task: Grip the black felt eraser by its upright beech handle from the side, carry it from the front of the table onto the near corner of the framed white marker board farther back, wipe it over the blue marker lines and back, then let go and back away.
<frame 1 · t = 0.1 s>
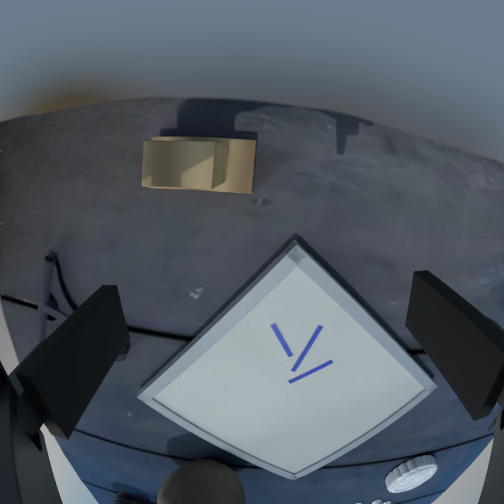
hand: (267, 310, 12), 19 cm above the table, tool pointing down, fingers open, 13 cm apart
bracket: (83, 323, 35), on the table
mooncake: (409, 469, 45), on the table
board: (295, 396, 37), on the table
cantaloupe: (206, 464, 43), on the table
storage jar: (134, 500, 52), on the table
eraser: (204, 163, 29), on the table
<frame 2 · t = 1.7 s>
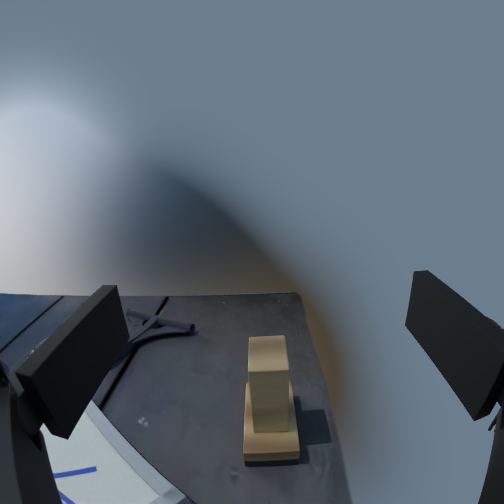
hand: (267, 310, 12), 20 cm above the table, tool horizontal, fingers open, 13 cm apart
bracket: (134, 344, 44), on the table
board: (3, 471, 16), on the table
eraser: (270, 428, 27), on the table
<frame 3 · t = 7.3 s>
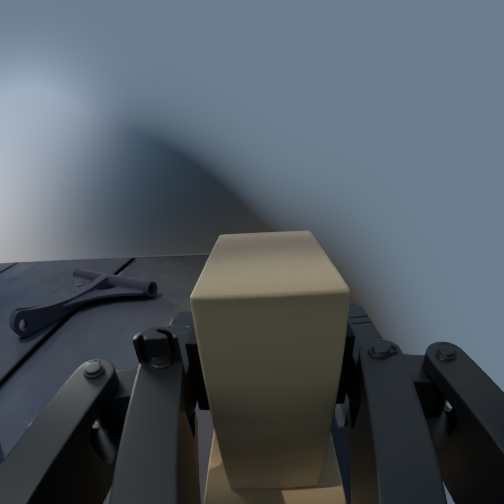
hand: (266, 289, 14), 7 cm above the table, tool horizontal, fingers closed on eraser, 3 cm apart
bracket: (69, 311, 28), on the table
eraser: (272, 468, 11), on the table, touching gripper
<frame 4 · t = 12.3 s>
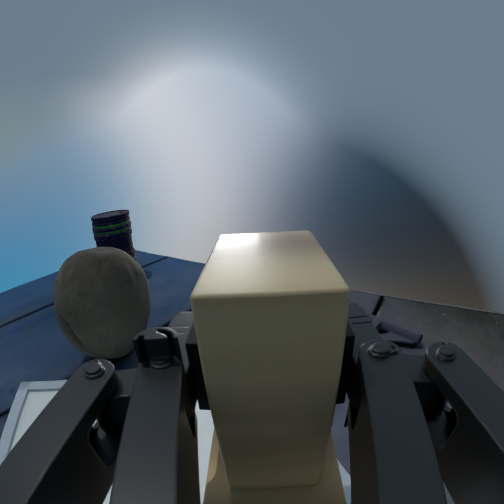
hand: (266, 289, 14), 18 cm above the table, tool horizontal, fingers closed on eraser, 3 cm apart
bracket: (351, 348, 37), on the table
board: (143, 486, 18), on the table
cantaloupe: (116, 349, 39), on the table
storage jar: (119, 273, 70), on the table
eraser: (272, 468, 11), point 11 cm above the table, touching gripper
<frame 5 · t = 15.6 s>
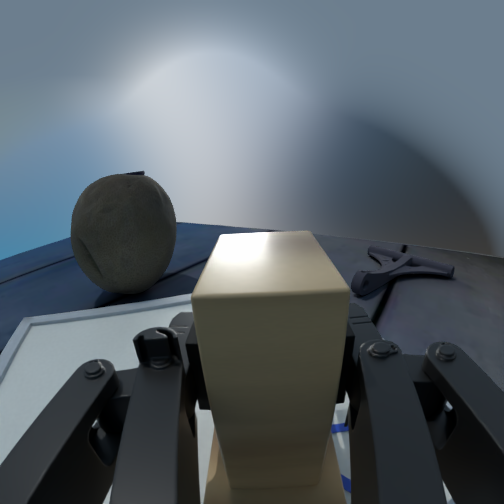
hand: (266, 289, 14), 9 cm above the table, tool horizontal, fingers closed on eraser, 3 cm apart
bracket: (386, 279, 36), on the table
board: (174, 416, 17), on the table
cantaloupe: (134, 289, 38), on the table
eraser: (272, 468, 11), point 2 cm above the table, touching gripper
when the fingers open (9 cm above the table, at t = 17.8 s): eraser stays where it is, resting on board.
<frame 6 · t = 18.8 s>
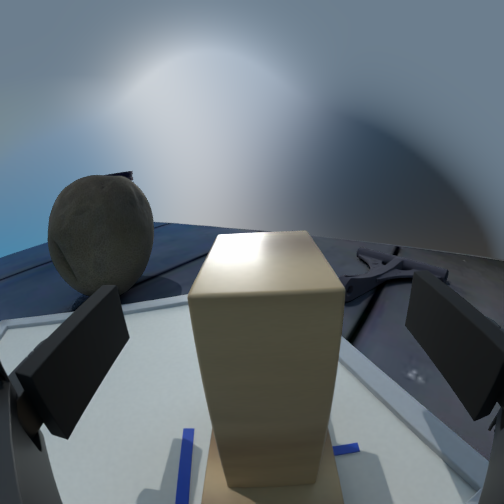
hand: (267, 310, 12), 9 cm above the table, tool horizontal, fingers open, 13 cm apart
bracket: (374, 284, 34), on the table
board: (130, 428, 15), on the table
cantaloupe: (112, 292, 36), on the table
eraser: (270, 467, 11), point 2 cm above the table, touching board
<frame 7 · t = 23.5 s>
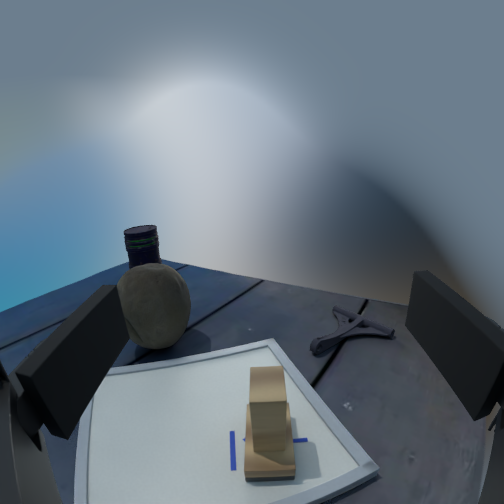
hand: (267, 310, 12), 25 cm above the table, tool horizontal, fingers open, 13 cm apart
bracket: (340, 338, 51), on the table
board: (199, 433, 32), on the table
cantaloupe: (160, 342, 53), on the table
storage jar: (147, 279, 84), on the table
eraser: (269, 446, 28), point 2 cm above the table, touching board
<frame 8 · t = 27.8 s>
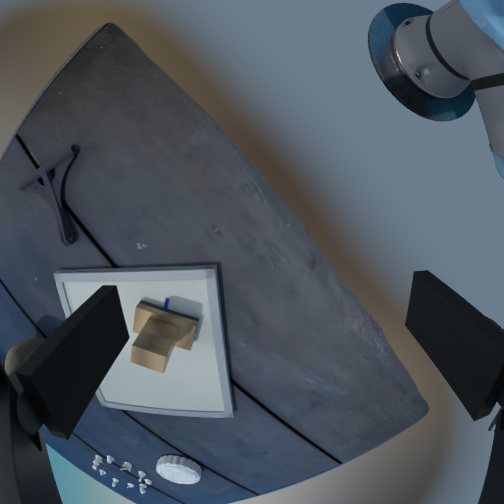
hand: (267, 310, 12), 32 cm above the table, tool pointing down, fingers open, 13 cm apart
bracket: (59, 202, 43), on the table
mooncake: (179, 465, 63), on the table
game piece set: (121, 471, 67), on the table
board: (145, 349, 51), on the table
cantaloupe: (55, 351, 53), on the table
eraser: (167, 321, 47), point 2 cm above the table, touching board
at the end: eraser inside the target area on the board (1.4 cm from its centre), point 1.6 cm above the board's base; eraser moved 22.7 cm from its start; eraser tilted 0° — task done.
